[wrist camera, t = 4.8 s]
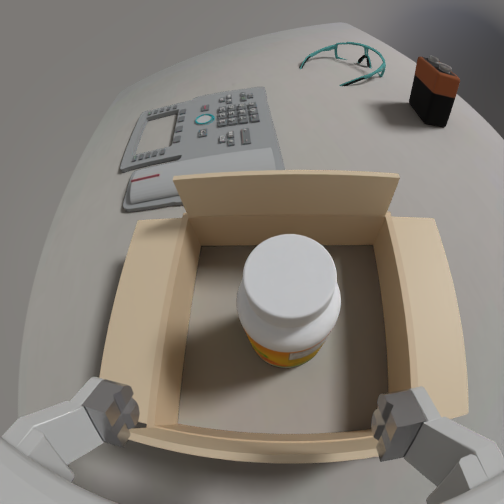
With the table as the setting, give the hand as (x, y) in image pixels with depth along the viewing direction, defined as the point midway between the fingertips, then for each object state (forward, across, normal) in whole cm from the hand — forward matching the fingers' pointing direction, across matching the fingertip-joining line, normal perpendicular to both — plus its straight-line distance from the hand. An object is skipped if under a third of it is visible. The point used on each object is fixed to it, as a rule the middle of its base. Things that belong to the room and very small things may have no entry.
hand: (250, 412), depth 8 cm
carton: (+12, -1, +4) cm, 12 cm away
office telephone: (+29, +9, -12) cm, 33 cm away
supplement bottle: (+12, -1, +4) cm, 13 cm away
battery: (+34, -25, -18) cm, 46 cm away
